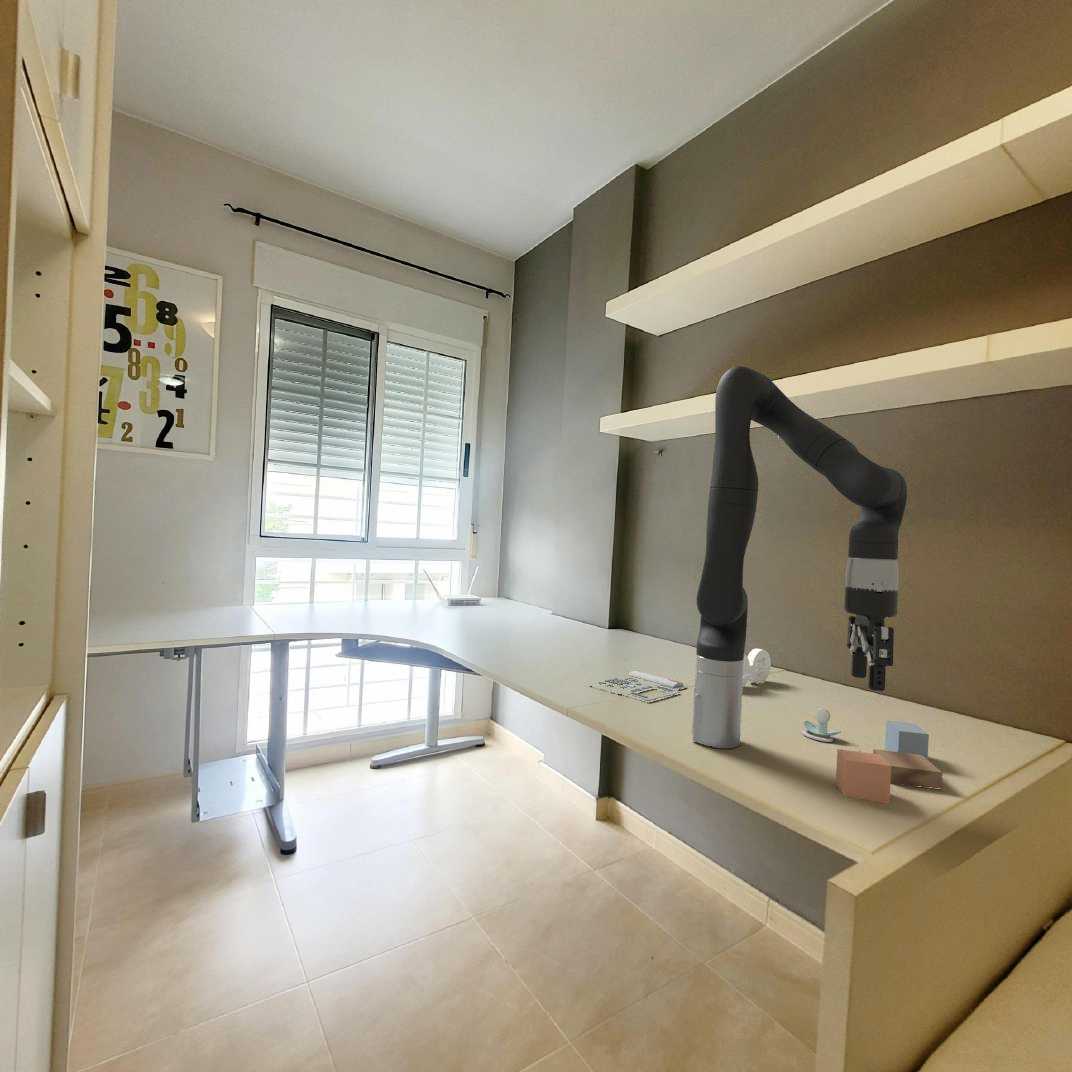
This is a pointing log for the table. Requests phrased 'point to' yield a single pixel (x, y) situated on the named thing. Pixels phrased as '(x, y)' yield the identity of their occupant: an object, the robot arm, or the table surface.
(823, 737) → the pacifier
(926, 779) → the base block
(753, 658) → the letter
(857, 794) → the brick terracotta
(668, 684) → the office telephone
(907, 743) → the brick slate
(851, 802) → the table surface
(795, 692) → the table surface
